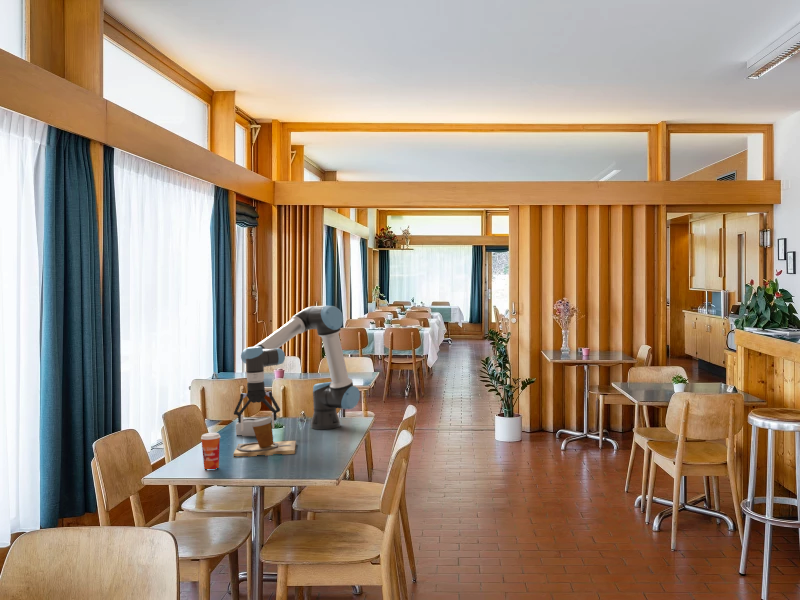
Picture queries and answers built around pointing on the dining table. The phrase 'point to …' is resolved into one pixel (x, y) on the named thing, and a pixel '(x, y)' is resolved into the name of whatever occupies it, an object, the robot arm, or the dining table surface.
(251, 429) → the napkin holder
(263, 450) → the wooden board
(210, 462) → the paper cup
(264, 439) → the disposable coffee cup
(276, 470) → the dining table surface
